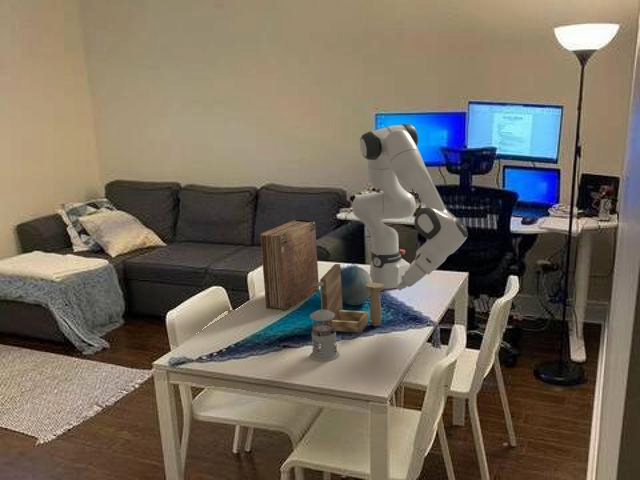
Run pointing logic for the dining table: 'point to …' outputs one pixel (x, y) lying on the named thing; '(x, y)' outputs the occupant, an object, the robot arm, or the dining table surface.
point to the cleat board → (340, 304)
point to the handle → (375, 302)
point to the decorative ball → (355, 285)
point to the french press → (323, 336)
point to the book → (289, 264)
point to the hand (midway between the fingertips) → (400, 283)
